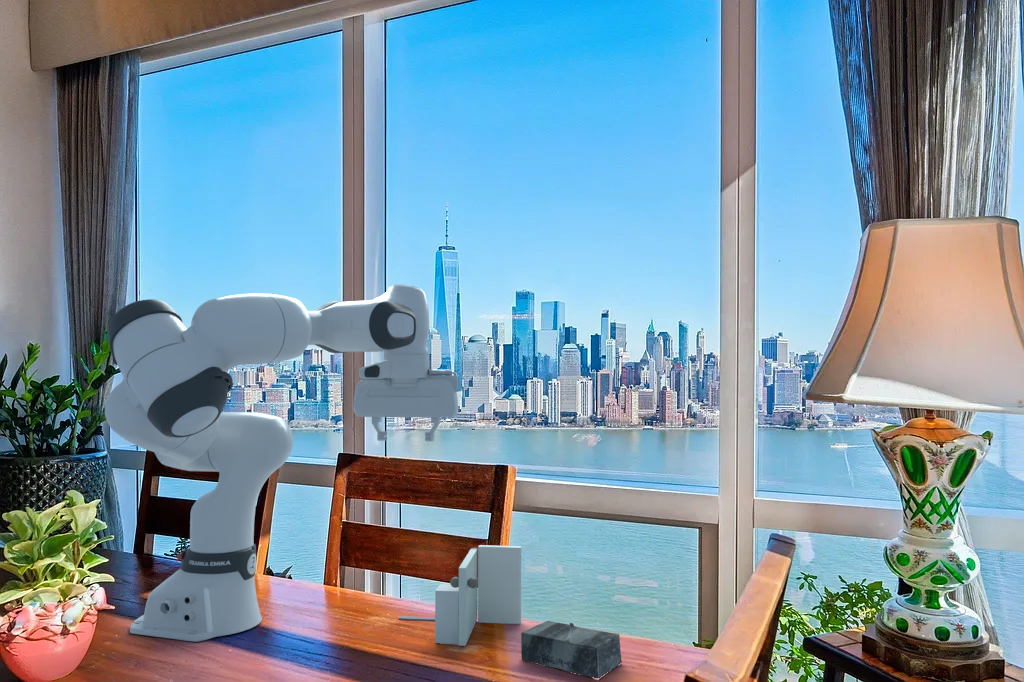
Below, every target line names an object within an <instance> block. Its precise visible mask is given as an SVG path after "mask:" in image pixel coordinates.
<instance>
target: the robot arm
mask: <svg viewBox="0 0 1024 682" xmlns="http://www.w3.org/2000/svg"><path fill="white" fill-rule="evenodd" d="M429 309H430V308H429V303H428V299H427V295H426V293H425V291H424V290H422V288H420V287H417V286H415V285H408V284H393V285H390V286H389V287H388V288H387V290H386V292H384V293H383V294H381V295H380V296H377V297H375V298H372V299H370V300H369V299H368V300H351V301H342V300H341V301H340V300H333V301H328V302H326V303H325V304H324V303H323V304H322V305H321V306H320V307H318V308H316V309H314V310H308V309H307V308H306V306H305V305H304V304H303V303H302V302H301V300H299V299H297V298H294V297H290V296H287V295H281V294H275V293H273V294H272V293H241V294H232V295H227V296H226V295H225V296H220V297H216V298H212V299H209V300H207V301H205V302H203V303H202V304H200V305H199V306H198V307H197V308H196V310H195V311H194V314H193V316H192V319H191V323H190V326H189V327H188V328H187V327H186V326H185V324H184V323H183V319H182V317H181V316H180V315H179V314H178V312H176V311H175V309H174V308H173V307H172V306H170V305H169V304H168V303H167V302H165V301H163V300H160V299H153V298H152V299H151V298H150V299H141V300H136V301H134V302H130V303H129V304H126V305H125V306H123V307H121V308H119V310H118V311H116V313H115V314H114V315H113V316H111V318H110V320H109V323H107V341H108V345H109V350H110V353H111V356H112V357H111V359H112V363H113V364H114V365H116V366H118V369H119V371H120V372H121V374H122V377H123V378H122V379H123V380H122V381H121V382H120V383H119V384H118V385H116V386H114V388H113V389H112V390H111V391H110V393H109V394H108V396H107V399H106V401H105V405H104V417H105V420H106V423H107V424H108V426H109V427H110V429H112V431H113V432H114V433H116V434H117V435H118V436H119V437H120V438H123V439H124V440H126V441H128V442H129V443H131V444H133V445H134V446H137V447H138V448H141V449H143V450H146V451H149V452H153V453H154V455H155V456H156V458H157V460H158V461H159V462H160V464H162V465H164V466H165V467H170V468H173V469H178V470H182V471H187V472H217V473H218V474H219V477H218V482H217V483H216V486H215V488H214V489H212V490H211V491H209V492H206V493H205V494H203V495H202V496H200V497H199V498H198V499H197V500H196V501H195V502H194V504H193V505H192V506H191V510H190V519H189V525H190V526H189V547H187V548H186V549H185V550H182V551H181V553H178V554H177V555H175V558H176V559H175V562H176V563H177V562H179V561H180V563H181V564H180V566H179V569H177V570H176V571H175V572H174V573H173V574H172V575H170V576H169V577H168V578H166V579H165V580H164V581H163V582H161V583H160V584H159V585H158V586H156V587H155V588H154V589H153V590H152V591H151V592H150V593H149V595H148V596H147V600H146V603H145V605H144V606H145V607H144V612H143V613H144V614H143V615H140V616H139V617H138V618H136V619H134V620H133V622H131V624H130V628H129V633H130V634H133V635H134V634H135V635H140V636H141V635H142V636H148V637H149V636H150V637H155V638H156V637H157V638H163V639H172V640H179V641H187V642H188V641H189V642H203V641H207V640H210V639H213V638H216V637H223V636H227V635H228V636H229V635H233V634H237V633H241V632H244V631H247V630H250V629H253V628H254V627H257V626H258V625H259V624H261V622H262V620H263V617H262V614H261V611H260V606H259V602H258V597H257V590H256V580H255V579H256V578H255V575H256V572H257V545H256V543H254V538H255V537H254V536H255V518H256V517H255V516H256V507H257V502H258V498H259V496H260V493H261V491H262V488H263V486H264V484H265V483H266V481H268V478H270V477H271V475H272V474H274V473H275V471H277V470H278V469H280V468H281V467H282V466H283V465H284V464H285V463H286V461H287V460H288V459H289V457H290V456H291V452H292V449H293V441H294V439H293V432H292V430H291V427H290V426H289V424H288V422H287V421H286V420H285V419H284V418H283V417H280V416H276V415H272V414H270V413H269V414H268V413H263V412H259V411H257V412H256V411H255V412H254V411H250V412H249V411H246V412H245V411H244V412H243V411H223V410H224V407H225V406H226V404H227V401H228V394H229V392H230V391H231V390H232V389H233V385H234V381H233V378H232V375H231V374H230V373H228V372H229V370H230V369H232V368H234V367H237V366H243V365H262V364H263V365H264V364H273V363H274V364H275V363H280V362H284V361H288V360H292V359H295V358H299V357H300V356H301V355H303V354H304V352H305V351H306V350H307V348H308V346H317V347H318V348H320V349H322V350H324V351H326V352H328V353H331V354H343V353H377V352H378V353H379V352H381V353H382V352H383V356H382V357H383V359H382V360H381V361H377V362H374V363H372V364H368V365H366V366H362V367H360V368H359V369H358V376H359V378H360V379H361V380H359V381H358V382H357V383H356V385H355V388H354V395H353V405H352V406H353V409H352V410H353V411H352V412H353V413H354V414H355V416H356V417H358V418H371V424H372V426H373V427H374V430H375V432H376V434H377V435H376V438H377V439H376V440H377V441H379V442H381V441H383V442H386V441H387V440H388V436H387V435H388V431H387V430H383V428H382V425H381V424H380V423H382V421H383V419H382V418H430V424H432V427H431V428H430V430H429V431H425V433H424V436H425V438H424V440H425V442H434V441H435V433H436V431H437V429H438V428H439V426H440V424H441V418H442V419H443V418H446V419H447V418H449V419H450V418H455V417H456V416H458V413H459V400H458V399H459V398H458V393H457V392H458V390H459V388H460V379H459V377H460V376H458V374H457V373H456V372H454V371H452V370H451V369H430V351H429V348H428V338H429V335H430V314H429V313H430V312H429ZM227 371H228V372H227Z"/></svg>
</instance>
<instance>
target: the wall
mask: <svg viewBox="0 0 1024 682" xmlns="http://www.w3.org/2000/svg"><path fill="white" fill-rule="evenodd" d="M477 548H478V574H477V580H478V585H477V623H481V624H482V623H483V624H484V623H485V624H505V625H506V624H510V625H511V624H512V625H521V624H522V546H521V545H491V544H490V545H489V544H488V545H487V544H486V545H485V544H480V545H478V546H477ZM398 620H404V621H408V620H409V621H429V622H431V621H434V622H435V616H432V617H431V616H407V615H400V616H399V617H398Z"/></svg>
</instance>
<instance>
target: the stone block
mask: <svg viewBox="0 0 1024 682" xmlns="http://www.w3.org/2000/svg"><path fill="white" fill-rule="evenodd" d="M520 635H521V639H520V640H521V643H520V649H521V651H520V653H521V660H522V661H524V662H528V661H529V662H528V663H531V662H533V663H532V664H535V663H538V664H541V665H540V666H542V665H545V666H544V667H548V666H549V667H550V668H554V669H555V668H556V669H559V670H562V671H565V672H568V673H570V672H572V673H576V674H580V675H585V676H584V677H588V676H590V677H594V678H600V677H601V676H603V675H604V674H606V673H607V672H609V671H610V670H612V669H613V668H614V669H616V667H619V666H618V665H619V664H620V663H621V664H622V652H621V643H620V642H621V641H620V640H621V638H620V634H619V633H614V632H608V631H602V630H598V629H591V628H586V627H582V626H581V627H580V626H575V625H574V623H573V622H569V624H568V623H563V622H559V621H558V622H557V621H553V620H547V621H544V622H541V623H539V624H536V625H534V626H532V627H530V628H527V629H526V630H524V631H522V632H521V633H520ZM538 664H537V665H538ZM549 667H548V668H549ZM614 669H613V670H614ZM613 670H612V671H613ZM572 673H571V674H572ZM609 673H610V672H609ZM580 675H579V676H580ZM606 675H607V674H606ZM590 677H589V678H590Z"/></svg>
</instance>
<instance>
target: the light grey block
mask: <svg viewBox="0 0 1024 682" xmlns="http://www.w3.org/2000/svg"><path fill="white" fill-rule="evenodd" d="M434 592H435V599H434V600H435V606H434V607H435V609H434V610H435V611H434V613H435V614H434V615H435V616H434V617H435V621H434V623H435V624H434V629H435V630H434V631H435V634H434V638H435V639H434V644H436V643H440V644H441V645H443V644H444V645H458V631H459V587H457V588H454V587H452V586H451V584H450V583H449V584H448V583H439V585H438V586H437V588H436V589H435V590H434Z"/></svg>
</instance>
